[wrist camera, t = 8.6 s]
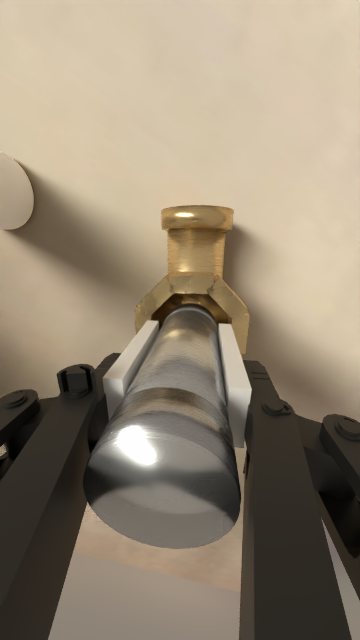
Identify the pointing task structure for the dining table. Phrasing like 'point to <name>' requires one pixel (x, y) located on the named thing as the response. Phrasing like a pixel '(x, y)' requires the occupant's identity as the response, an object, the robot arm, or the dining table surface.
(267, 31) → the dining table surface
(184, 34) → the dining table surface
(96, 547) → the dining table surface
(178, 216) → the tee fitting
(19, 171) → the water bottle
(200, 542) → the metal cylinder
